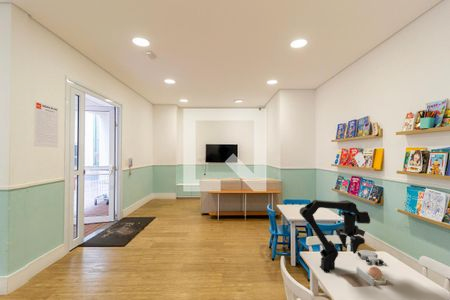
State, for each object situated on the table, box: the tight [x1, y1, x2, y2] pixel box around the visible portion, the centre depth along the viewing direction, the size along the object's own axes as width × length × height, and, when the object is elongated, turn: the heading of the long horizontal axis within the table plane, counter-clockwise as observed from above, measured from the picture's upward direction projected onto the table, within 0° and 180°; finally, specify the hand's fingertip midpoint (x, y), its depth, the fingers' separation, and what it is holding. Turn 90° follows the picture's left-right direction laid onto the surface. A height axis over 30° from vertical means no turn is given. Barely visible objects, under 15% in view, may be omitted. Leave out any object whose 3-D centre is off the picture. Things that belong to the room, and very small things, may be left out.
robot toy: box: [355, 249, 387, 266], centre depth 143 cm, size 12×4×15 cm
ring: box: [366, 271, 387, 284], centre depth 121 cm, size 9×9×1 cm
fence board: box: [339, 266, 395, 288], centre depth 120 cm, size 22×12×4 cm, turn 95°
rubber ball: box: [368, 266, 383, 279], centre depth 121 cm, size 6×6×6 cm
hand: (349, 249), depth 131 cm, fingers open, 9 cm apart
